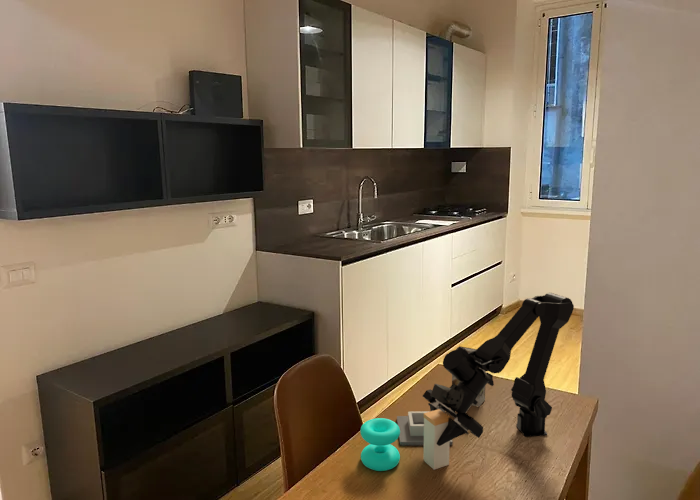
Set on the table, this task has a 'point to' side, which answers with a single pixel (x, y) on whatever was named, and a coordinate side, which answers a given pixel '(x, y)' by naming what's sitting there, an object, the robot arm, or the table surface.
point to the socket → (412, 428)
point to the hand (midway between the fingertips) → (431, 440)
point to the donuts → (380, 444)
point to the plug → (435, 439)
